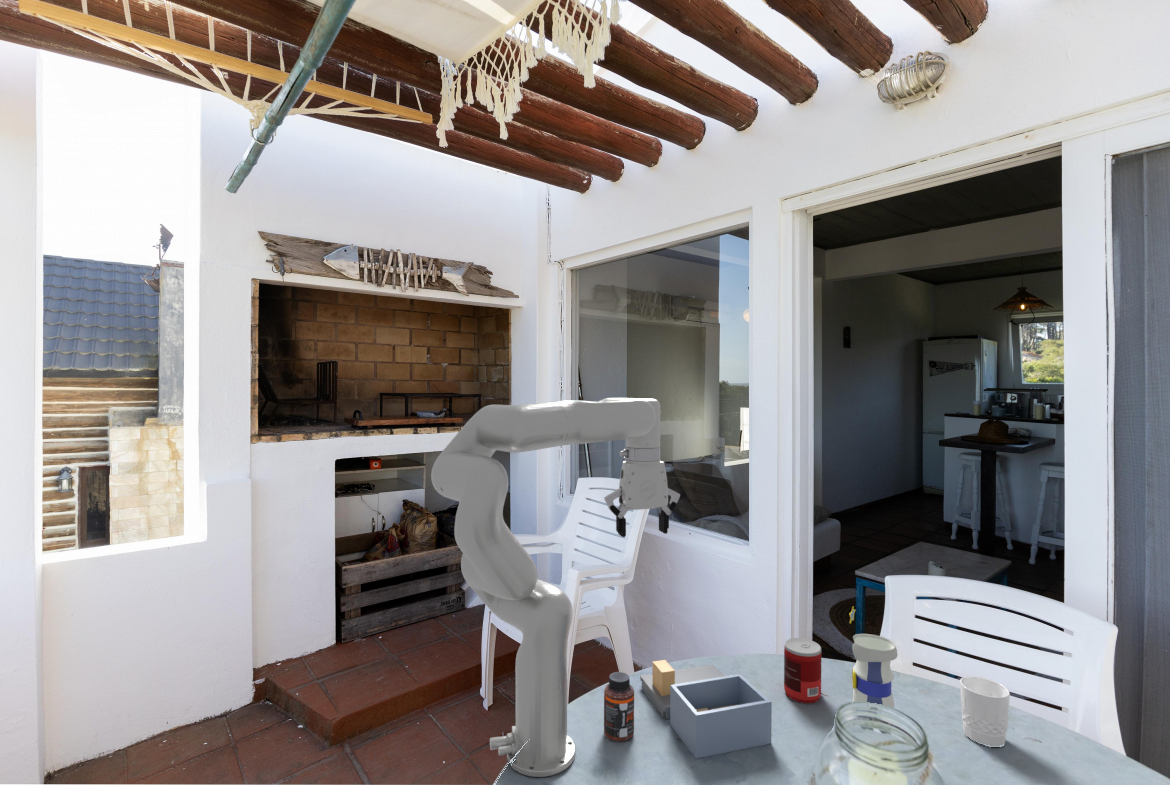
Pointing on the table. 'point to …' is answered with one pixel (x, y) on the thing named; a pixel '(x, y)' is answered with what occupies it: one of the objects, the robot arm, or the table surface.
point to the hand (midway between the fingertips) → (642, 533)
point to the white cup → (984, 710)
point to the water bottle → (872, 668)
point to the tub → (720, 715)
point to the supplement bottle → (619, 708)
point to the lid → (672, 682)
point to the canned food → (802, 670)
